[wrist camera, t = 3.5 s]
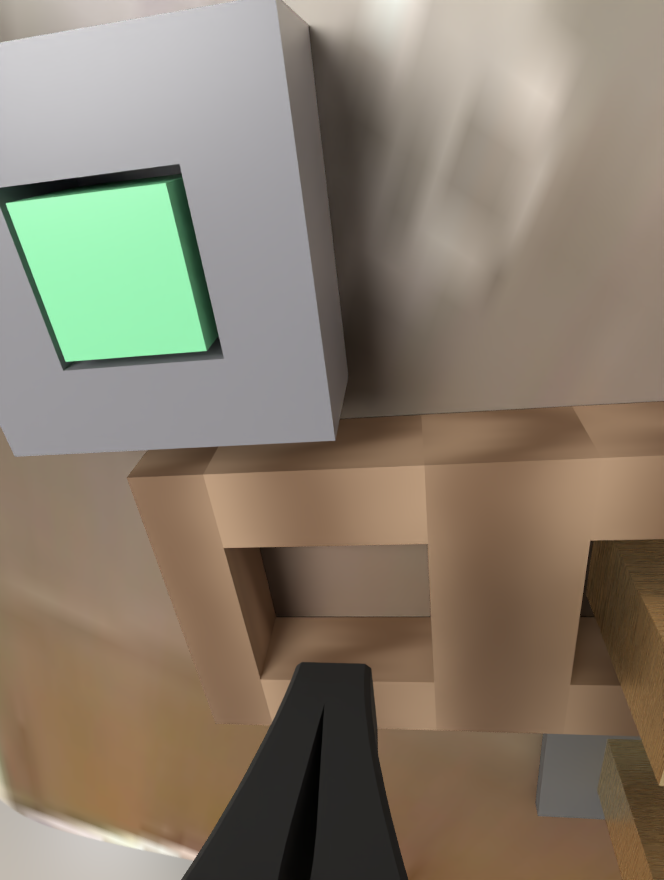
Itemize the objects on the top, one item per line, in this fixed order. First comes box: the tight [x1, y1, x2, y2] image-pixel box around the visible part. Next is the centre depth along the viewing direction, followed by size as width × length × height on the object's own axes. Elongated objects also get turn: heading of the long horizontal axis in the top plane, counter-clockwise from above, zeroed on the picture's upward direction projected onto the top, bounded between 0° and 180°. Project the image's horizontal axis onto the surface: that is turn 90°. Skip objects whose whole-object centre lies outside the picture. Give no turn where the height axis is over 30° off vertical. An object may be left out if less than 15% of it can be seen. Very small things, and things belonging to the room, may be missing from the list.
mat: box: [536, 734, 641, 819], centre depth 25 cm, size 9×9×1 cm
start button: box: [6, 173, 219, 362], centre depth 14 cm, size 4×4×3 cm
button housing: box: [0, 0, 348, 456], centre depth 14 cm, size 9×9×4 cm
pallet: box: [127, 401, 664, 736], centre depth 19 cm, size 22×12×3 cm, turn 97°
